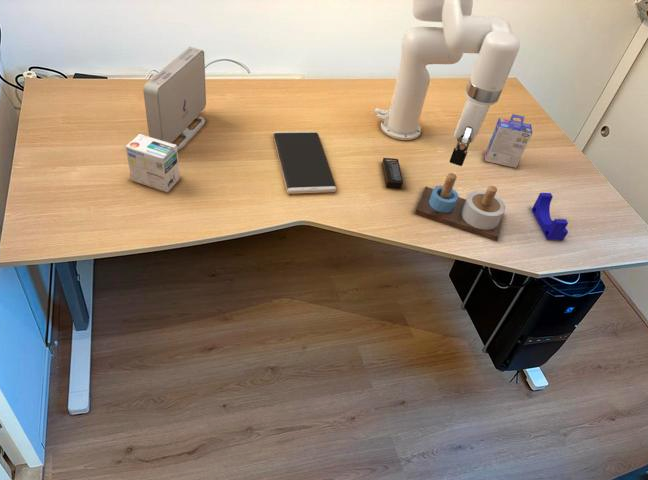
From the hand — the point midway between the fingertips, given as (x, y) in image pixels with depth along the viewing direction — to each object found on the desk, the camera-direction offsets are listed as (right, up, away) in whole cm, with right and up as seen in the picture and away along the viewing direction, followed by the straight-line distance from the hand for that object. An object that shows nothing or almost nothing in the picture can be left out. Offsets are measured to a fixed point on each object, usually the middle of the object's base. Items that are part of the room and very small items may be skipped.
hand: (459, 153), depth 135 cm
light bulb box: (-77, -6, +7) cm, 77 cm away
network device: (-75, +11, +23) cm, 79 cm away
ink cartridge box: (+21, +5, +32) cm, 38 cm away
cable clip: (+27, -17, +13) cm, 34 cm away
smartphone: (-39, +1, +19) cm, 43 cm away
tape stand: (+3, -14, +12) cm, 18 cm away
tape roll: (-2, -11, +11) cm, 16 cm away
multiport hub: (-14, -2, +20) cm, 24 cm away
